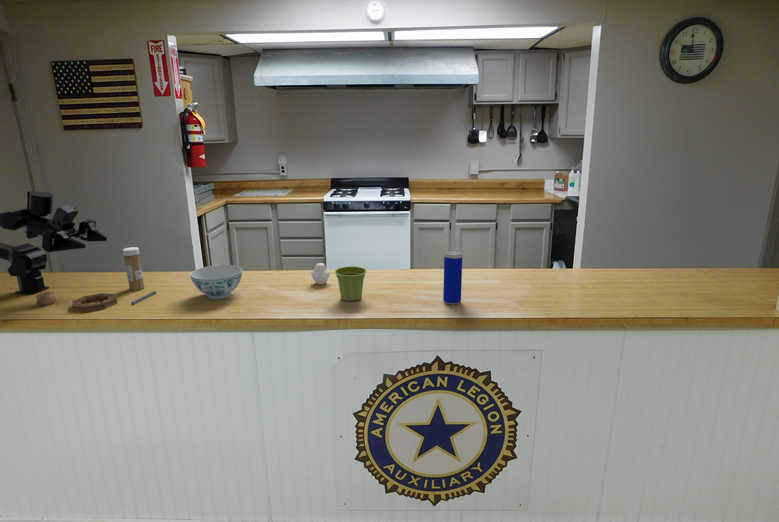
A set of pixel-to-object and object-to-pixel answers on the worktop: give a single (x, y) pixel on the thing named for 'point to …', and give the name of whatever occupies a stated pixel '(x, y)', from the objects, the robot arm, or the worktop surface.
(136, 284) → the sprinkles bottle
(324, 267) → the white owl figurine
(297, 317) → the worktop surface
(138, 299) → the grey rectangular bar
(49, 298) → the small wooden bead
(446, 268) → the beverage can
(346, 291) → the plant pot
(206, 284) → the chinaware
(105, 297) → the walnut ring
